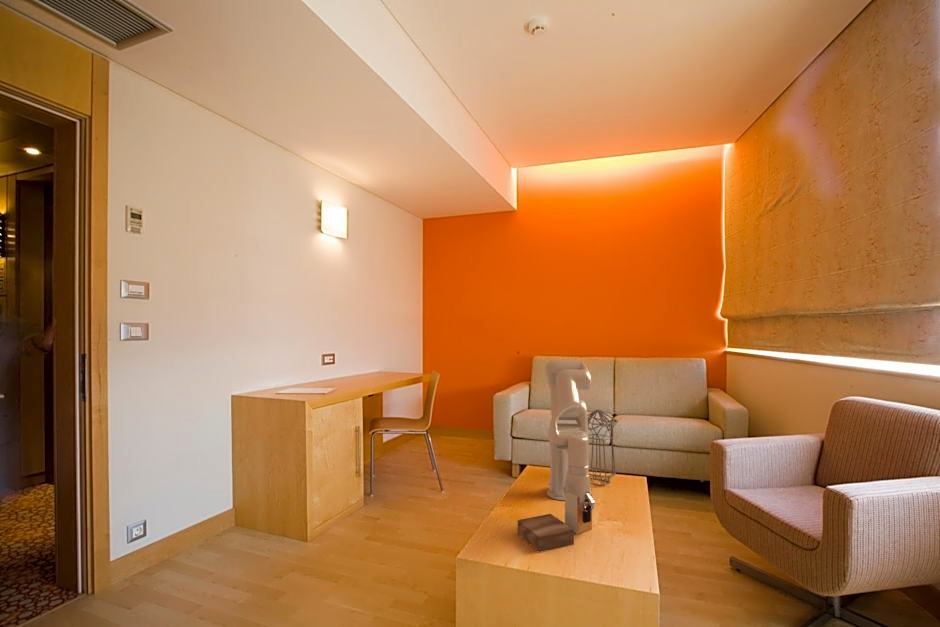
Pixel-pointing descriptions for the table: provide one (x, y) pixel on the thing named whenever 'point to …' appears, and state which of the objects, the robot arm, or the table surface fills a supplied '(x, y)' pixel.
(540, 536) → the walnut plinth
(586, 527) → the small box
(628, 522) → the table surface
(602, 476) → the geometric lantern
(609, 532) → the table surface
